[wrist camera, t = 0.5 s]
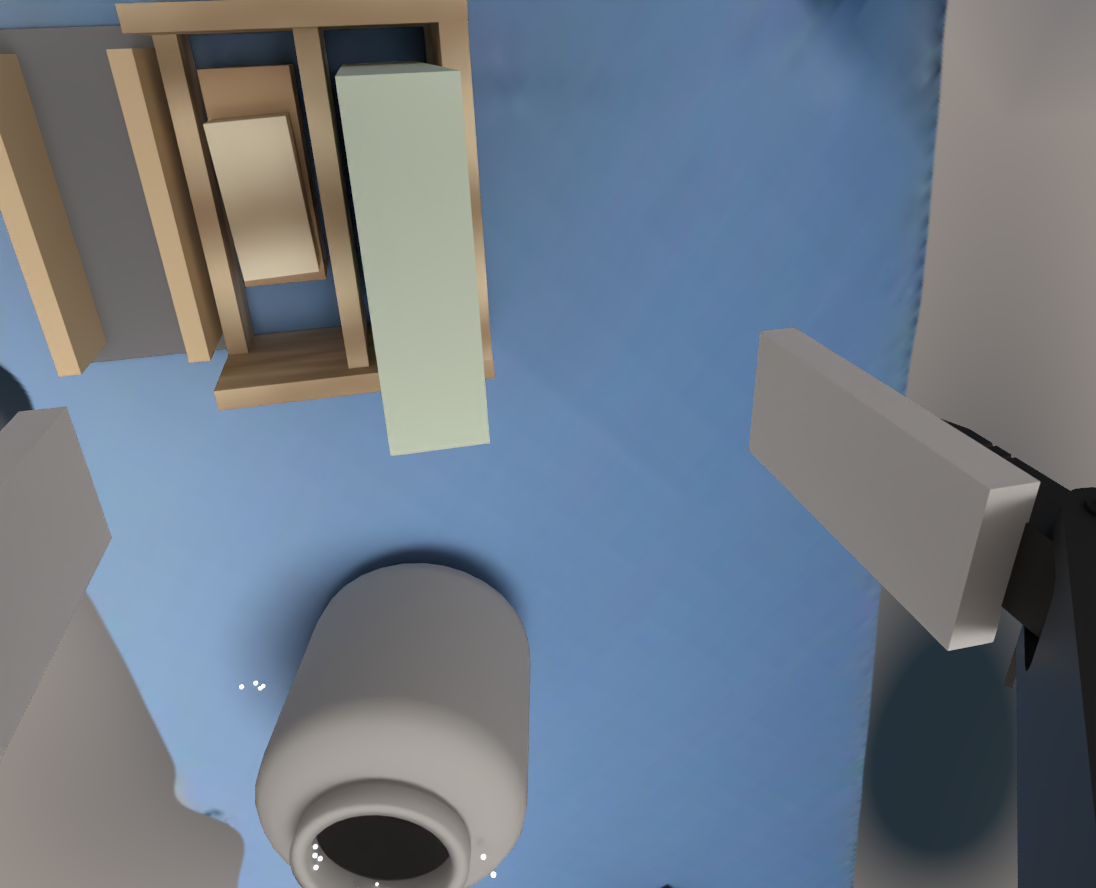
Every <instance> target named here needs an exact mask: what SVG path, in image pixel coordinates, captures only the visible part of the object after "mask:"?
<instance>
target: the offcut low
mask: <svg viewBox="0 0 1096 888" xmlns="http://www.w3.org/2000/svg"><path fill="white" fill-rule="evenodd" d="M197 73H198V77H199V82H200V86H201V91H202V95H203V99H204V104H205V108H206V113H207V117H208V121H210V120H212V119H222V118H232V117H243V116H253V115H263V114H273V113H283V112H289V113H290V118H291V122H292V127H293V132H294V136H295V141H296V145H297V150H298V155H299V159H300V164H301V169H302V173H303V178H304V183H305V187H306V192H307V197H308V201H309V206H310V211H311V215H312V220H313V225H314V229H315V234H316V239H317V244H318V248H319V253H320V258H321V262H320V269H319V272H312V273H304V274H296V275H289V276H281V277H273V278H266V279H258V280H251V281H244V282H245V287H249V286H259V285H270V284H280V283H291V282H301V281H312V280H322V279H326V274H327V266H328V263H327V257H326V251H325V246H324V240H323V234H322V228H321V222H320V216H319V211H318V205H317V199H316V193H315V187H314V182H313V176H312V170H311V164H310V158H309V152H308V147H307V141H306V135H305V129H304V123H303V117H302V112H301V106H300V100H299V94H298V88H297V83H296V77H295V71H294V65H293V64H278V65H257V66H236V67H216V68H204V69H198V70H197Z"/></svg>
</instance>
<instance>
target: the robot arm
mask: <svg viewBox="0 0 1096 888" xmlns="http://www.w3.org/2000/svg"><path fill="white" fill-rule="evenodd" d="M749 451H750V452H751V453H752V454H753V455H754V456H755V457H756V458H757V459H758V460H759V461H760V462H761V463H762V464H763V465H764V466H765V467H766V468H767V469H768V470H769V471H770V472H771V473H772V474H773V475H774V476H775V477H776V478H777V479H778V480H779V481H780V482H781V483H782V484H783V485H784V486H785V487H786V488H787V489H788V490H789V491H790V492H791V493H792V494H793V495H794V496H795V497H796V498H797V499H798V500H799V501H800V502H801V503H802V504H803V505H804V506H805V507H806V508H807V509H808V510H809V511H810V512H811V513H812V514H813V515H814V516H815V517H816V519H817V520H818V521H819V522H820V523H821V524H822V525H823V526H824V527H825V528H826V529H827V530H828V531H829V532H830V533H831V534H832V535H833V536H834V537H835V538H836V539H837V540H838V541H839V542H840V543H841V544H842V545H843V546H844V547H845V548H846V549H847V550H848V551H849V552H850V553H851V554H852V555H853V556H854V557H855V558H856V559H857V560H858V561H859V562H860V563H861V564H862V565H863V566H864V567H865V568H866V569H867V570H868V571H869V572H870V573H871V574H872V575H873V576H874V577H875V578H876V579H877V580H878V581H879V582H880V583H881V584H882V585H883V586H884V587H885V588H886V589H887V590H888V591H889V592H890V593H891V594H892V595H893V596H894V597H895V598H896V599H897V600H898V601H899V602H900V603H901V604H902V605H903V606H904V607H905V608H906V609H907V610H908V611H909V612H910V613H911V614H912V615H913V616H914V617H915V618H916V619H917V620H918V621H919V622H920V623H921V624H922V625H923V626H924V627H925V628H926V629H927V630H928V631H929V633H931V635H932V636H934V638H935V639H936V640H937V641H938V642H939V643H940V644H942V646H943V647H944V648H945V649H946V650H947V651H950V650H955V649H960V648H965V647H970V646H975V645H981V644H986V643H991V642H993V641H994V637H995V634H996V631H997V627H998V624H999V620H1000V617H1001V614H1002V610H1003V608H1004V609H1005V610H1007V611H1008V612H1009V613H1010V614H1011V615H1012V616H1014V617H1015V618H1016V619H1017V620H1018V621H1020V622H1021V623H1022V624H1023V625H1022V629H1021V632H1020V635H1019V638H1018V641H1017V645H1016V648H1015V651H1014V654H1013V657H1012V660H1011V664H1010V667H1009V670H1008V673H1007V676H1006V680H1005V683H1004V685H1005V686H1008V687H1013V685H1014V683H1015V681H1016V686H1017V687H1016V692H1017V693H1016V694H1017V814H1018V815H1017V820H1018V821H1017V822H1018V823H1017V826H1018V827H1017V829H1018V888H1096V488H1093V487H1091V488H1080V489H1074V490H1072V491H1070V490H1068V489H1066V488H1064V487H1063V486H1061V485H1060V484H1058V483H1057V482H1055V481H1053V480H1052V479H1050V478H1048V477H1047V476H1045V475H1043V474H1042V473H1040V472H1039V471H1037V470H1035V469H1034V468H1032V467H1030V466H1029V465H1027V464H1025V463H1024V462H1022V461H1020V460H1019V459H1017V458H1011V454H1009V453H1007V452H1006V451H1004V450H1002V449H1001V448H999V447H998V446H993V445H992V443H991V442H990V441H988V440H986V439H985V438H983V437H981V436H980V435H978V434H977V433H975V432H973V431H972V430H970V429H968V428H965V427H962V426H959V425H957V424H954V423H951V422H948V421H945V420H943V419H940V418H938V417H936V416H935V415H933V414H932V413H930V412H928V411H927V410H925V409H924V408H922V407H921V406H919V405H917V404H916V403H914V402H913V401H911V400H909V399H908V398H906V397H905V396H903V395H901V394H900V393H898V392H897V391H895V390H893V389H892V388H890V387H889V386H887V385H885V384H884V383H882V382H881V381H879V380H877V379H876V378H874V377H873V376H871V375H869V374H868V373H866V372H865V371H863V370H861V369H860V368H858V367H857V366H855V365H853V364H852V363H850V362H849V361H847V360H845V359H844V358H842V357H841V356H839V355H837V354H836V353H834V352H833V351H831V350H829V349H828V348H826V347H825V346H823V345H821V344H820V343H818V342H817V341H815V340H813V339H812V338H810V337H809V336H807V335H805V334H804V333H802V332H801V331H799V330H797V329H796V328H787V329H778V330H769V331H760V340H759V350H758V361H757V371H756V381H755V391H754V402H753V412H752V422H751V433H750V443H749ZM111 538H112V537H111V534H110V531H109V528H108V525H107V522H106V519H105V516H104V514H103V511H102V508H101V505H100V502H99V499H98V496H97V493H96V490H95V487H94V484H93V482H92V479H91V476H90V473H89V470H88V467H87V464H86V461H85V458H84V455H83V452H82V450H81V447H80V444H79V441H78V438H77V435H76V432H75V429H74V426H73V423H72V420H71V417H70V415H69V412H68V409H67V407H58V408H49V409H40V410H30V411H21V412H18V413H17V414H16V415H15V416H14V418H13V419H12V420H11V421H10V422H9V423H8V424H7V425H6V426H5V427H4V428H3V429H2V430H1V431H0V761H1V759H2V757H3V755H4V753H5V751H6V749H7V747H8V745H9V743H10V741H11V739H12V737H13V735H14V733H15V731H16V729H17V727H18V725H19V723H20V721H21V719H22V717H23V715H24V713H25V711H26V709H27V707H28V705H29V703H30V700H31V699H32V696H33V695H34V693H35V691H36V689H37V687H38V685H39V683H40V681H41V679H42V676H43V675H44V672H45V671H46V669H47V667H48V665H49V663H50V660H51V659H52V656H53V655H54V653H55V651H56V649H57V647H58V645H59V643H60V641H61V639H62V637H63V634H64V633H65V631H66V628H67V627H68V625H69V623H70V620H71V618H72V617H73V615H74V613H75V611H76V609H77V606H78V605H79V603H80V601H81V598H82V597H83V594H84V593H85V591H86V589H87V587H88V585H89V583H90V580H91V578H92V576H93V574H94V572H95V570H96V568H97V566H98V564H99V562H100V560H101V558H102V556H103V554H104V552H105V550H106V548H107V546H108V544H109V542H110V540H111Z"/></svg>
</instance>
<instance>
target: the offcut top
mask: <svg viewBox="0 0 1096 888" xmlns="http://www.w3.org/2000/svg"><path fill="white" fill-rule="evenodd" d="M203 126H204V130H205V134H206V138H207V141H208V145H209V149H210V153H211V157H212V160H213V164H214V168H215V172H216V176H217V179H218V183H219V187H220V191H221V194H222V198H223V202H224V206H225V210H226V213H227V217H228V221H229V225H230V229H231V232H232V236H233V240H234V244H235V248H236V251H237V255H238V259H239V263H240V267H241V270H242V274H243V278H244V281H251V280H258V279H266V278H273V277H281V276H289V275H296V274H304V273H312V272H319V269H320V262H321V258H320V253H319V248H318V244H317V239H316V234H315V229H314V225H313V220H312V215H311V211H310V206H309V201H308V197H307V192H306V187H305V183H304V178H303V173H302V169H301V164H300V159H299V155H298V150H297V145H296V141H295V136H294V132H293V127H292V122H291V118H290V113H289V112H283V113H273V114H263V115H253V116H243V117H232V118H222V119H212V120H210V121H208V122H206V123H204V124H203Z"/></svg>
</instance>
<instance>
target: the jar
mask: <svg viewBox="0 0 1096 888" xmlns="http://www.w3.org/2000/svg"><path fill="white" fill-rule="evenodd" d="M254 685H258V681H254ZM239 688H240V689H243V688H244V685H240V686H239ZM262 688H265V684H262V685H261V686H259V687H258V689H259V690H262ZM529 704H530V649H529V643H528V638H527V635H526V632H525V628H524V625H523V623H522V621H521V619H520V618H519V616H518V614H517V612H516V611H515V609H514V608H513V607H512V606H511V604H510V603H509V602H508V601H507V600H506V599H505V598H504V597H503V596H502V595H501V594H500V593H499V592H497V591H496V590H495V589H493V588H492V587H491V586H489V585H488V584H487V583H485V582H484V581H482V580H480V579H478V578H476V577H474V576H472V575H470V574H468V573H466V572H463V571H460V570H457V569H453V568H450V567H447V566H442V565H435V564H427V563H412V564H399V565H394V566H389V567H384V568H379V569H377V570H374V571H372V572H369V573H366V574H364V575H361V576H360V577H358V578H357V579H355V580H353V581H352V582H350V583H349V584H347V585H345V586H344V587H343V588H342V589H341V590H340V591H339V592H338V593H337V594H336V595H335V596H334V597H333V598H332V599H331V601H330V602H329V604H328V606H327V607H326V609H325V610H324V612H323V614H322V615H321V617H320V618H319V620H318V622H317V624H316V626H315V629H314V631H313V634H312V636H311V639H310V641H309V644H308V646H307V649H306V651H305V654H304V656H303V659H302V661H301V664H300V666H299V669H298V671H297V674H296V676H295V679H294V681H293V683H292V686H291V688H290V691H289V693H288V696H287V698H286V701H285V703H284V706H283V708H282V711H281V713H280V716H279V718H278V721H277V723H276V726H275V728H274V731H273V733H272V736H271V738H270V741H269V743H268V745H267V748H266V750H265V753H264V756H263V759H262V763H261V766H260V769H259V773H258V777H257V781H256V785H255V805H256V808H257V812H258V816H259V819H260V823H261V825H262V828H263V830H264V833H265V834H266V836H267V838H268V840H269V841H270V843H271V845H272V847H273V848H274V849H275V851H276V852H277V853H278V854H279V855H280V856H281V857H282V858H283V859H284V861H285V862H286V863H287V864H289V865H290V866H291V869H292V873H293V875H294V876H295V878H296V880H297V882H298V883H299V885H300V886H301V887H302V888H467V887H469V886H471V885H473V884H476V883H477V882H479V881H480V880H481V879H483V878H484V877H486V876H487V875H488V874H490V873H491V872H492V871H493V870H494V869H495V868H496V867H497V866H498V865H499V864H500V863H501V861H502V860H503V859H504V858H505V857H506V856H507V855H508V854H509V853H510V851H511V850H512V849H513V847H514V845H515V844H516V842H517V840H518V838H519V836H520V834H521V832H522V827H523V823H524V818H525V813H526V807H527V798H528V751H529ZM491 877H492V878H494V877H496V873H495V872H492V873H491Z"/></svg>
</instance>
